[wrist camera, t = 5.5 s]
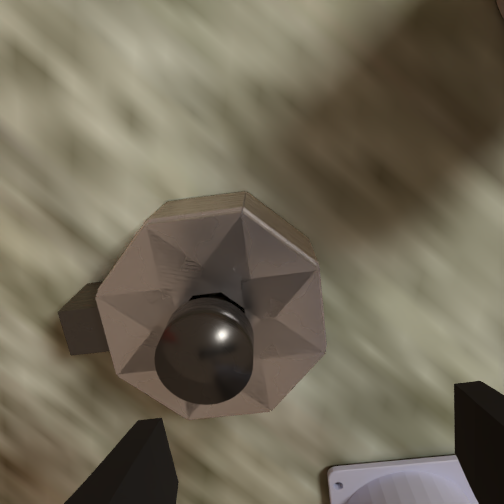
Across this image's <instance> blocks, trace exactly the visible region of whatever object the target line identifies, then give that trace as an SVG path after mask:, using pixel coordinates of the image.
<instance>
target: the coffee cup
mask: <svg viewBox="0 0 504 504" xmlns="http://www.w3.org/2000/svg"><path fill="white" fill-rule="evenodd" d="M496 1H497V5H498V8H499V10H500V13H501V15H502V17H503V19H504V0H496Z"/></svg>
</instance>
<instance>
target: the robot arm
mask: <svg viewBox="0 0 504 504" xmlns="http://www.w3.org/2000/svg"><path fill="white" fill-rule="evenodd" d="M454 411H455V454H456V455H451V456H440V457H429V458H419V459H408V460H397V461H386V462H375V463H365V464H354V465H343V466H334V467H332V468H330V469H329V470H328V472H327V478H328V487H329V497H330V504H504V395H503V394H501V393H499V392H498V391H496V390H495V389H493V388H491V387H490V386H488V385H486V384H485V383H483V382H481V381H475V382H466V383H458V384H454ZM337 482H340V483H338V484H335V483H337ZM177 489H178V479H177V475H176V471H175V467H174V463H173V459H172V455H171V452H170V448H169V444H168V440H167V436H166V432H165V429H164V425H163V421H162V418H155V419H147V420H138V421H137V422H136V424H135V425H134V426H133V427H132V428H131V429H130V430H129V431H128V432H127V434H126V435H125V436H124V437H123V438H122V439H121V441H120V442H119V443H118V444H117V445H116V446H115V448H114V449H113V450H112V451H111V452H110V453H109V455H108V456H107V457H106V458H105V459H104V460H103V461H102V463H101V464H100V465H99V466H98V467H97V468H96V469H95V470H94V472H93V473H92V474H91V475H90V476H89V477H88V478H87V479H86V481H85V482H84V483H83V484H82V485H81V486H80V487H79V488H78V489H77V490H76V491H75V493H74V494H73V495H72V496H71V497H70V498H69V499H68V500H67V501H66V502H65V503H64V504H176V498H177Z"/></svg>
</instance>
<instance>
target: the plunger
mask: <svg viewBox="0 0 504 504" xmlns="http://www.w3.org/2000/svg"><path fill="white" fill-rule="evenodd" d="M228 301H229V297H227V296H226V295H224V294H223V293H221V292H219V293H211V294H209V296H208V298H198V299H194V300H191V301H189V302H186V303H185V304H183V305H181V306H180V307H179V308H178V309H176V310H175V312H174V313H173V314H172V315H171V317H170V318H169V321H168V323H167V325H166V327H165V329H164V332H163V334H162V336H161V338H160V340H159V343H158V345H157V347H156V351H155V357H154V361H155V369H156V372H157V375H158V377H159V379H160V381H161V382H162V384H163V385H164V386H165V387H166V388H167V389H168V390H169V391H170V392H171V393H172V394H174V395H175V396H177V397H178V398H180V399H182V400H185V401H187V402H190V403H194V404H201V405H212V404H218V403H222V402H225V401H227V400H230V399H231V398H233V397H235V396H236V395H237V394H239V393H240V392H241V391H242V390H243V389H244V388H245V386H246V385H247V383H248V382H249V380H250V377H251V375H252V371H253V354H254V333H253V329H252V326H251V323H250V322H249V320H248V318H247V317H246V315H245V314H244V313H243V312H242V311H241V310H240V309H239V308H237V307H236V306H235V305H233V304H231V303H229V302H228Z"/></svg>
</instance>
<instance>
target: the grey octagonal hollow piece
mask: <svg viewBox="0 0 504 504" xmlns="http://www.w3.org/2000/svg"><path fill="white" fill-rule="evenodd" d="M219 292H221V293H223V294H224V295H226V296H227V297H229V298H230V299H231V300H233V301H234V302H236V303H237V304H239V305H240V306H241V307H243V308H244V311H245V315H246V317H247V318H248V320H249V322H250V323H251V326H252V329H253V333H254V354H253V371H252V375H251V377H250V380H249V382H248V383H247V385H246V386H245V388H244V389H243V390H242V391H241V392H240V393H239V394H237V395H236V396H235V397H233V398H231V399H230V400H227V401H225V402H222V403H218V404H212V405H201V404H194V403H190V402H187V401H185V400H182V399H180V398H178V397H177V396H175V395H174V394H172V393H171V392H170V391H169V390H168V389H167V388H166V387H165V386H164V385H163V384H162V382H161V381H160V379H159V377H158V375H157V372H156V369H155V361H154V357H155V351H156V347H157V345H158V343H159V340H160V338H161V336H162V334H163V332H164V329H165V327H166V325H167V323H168V321H169V318H170V317H171V315H172V314H173V313H174V312H175V310H176V309H178V308H179V307H180V306H181V305H183V304H185V303H186V302H188V301H189V300H190V298H191V297H192V296H194V295H202V294H211V293H219ZM58 315H59V318H60V321H61V325H62V328H63V331H64V334H65V338H66V341H67V344H68V348H69V351H70V354H71V355H79V354H88V353H97V352H106V351H110V354H111V357H112V361H113V365H114V368H115V372H116V375H118V377H120V378H121V379H123V380H124V381H126V382H128V383H129V384H131V385H132V386H134V387H136V388H137V389H139V390H140V391H142V392H144V393H145V394H147V395H148V396H150V397H152V398H153V399H155V400H156V401H158V402H160V403H161V404H163V405H164V406H166V407H168V408H169V409H171V410H173V411H174V412H176V413H177V414H179V415H181V416H182V417H184V418H185V419H189V420H193V419H202V418H212V417H222V416H232V415H242V414H252V413H262V412H270V410H271V411H272V410H273V409H274V408H275V407H276V406H277V405H278V404H279V403H280V401H281V400H282V399H283V398H284V397H285V396H286V395H287V394H288V393H289V392H290V391H291V390H292V389H293V388H294V386H295V385H296V384H297V383H298V382H299V381H300V380H301V379H302V378H303V377H304V376H305V375H306V374H307V373H308V372H309V370H310V369H311V368H312V367H313V366H314V365H315V364H316V363H317V362H318V361H319V360H320V359H321V358H322V357H323V356H324V354H325V352H326V346H327V343H326V332H325V322H324V311H323V300H322V289H321V279H320V268H319V263H318V260H317V258H316V255H315V253H314V250H313V248H312V245H311V243H310V240H309V238H308V237H306V236H305V235H304V234H302V233H301V232H300V231H298V230H297V229H296V228H294V227H293V226H292V225H291V224H289V223H288V222H287V221H285V220H284V219H283V218H281V217H280V216H279V215H277V214H276V213H275V212H273V211H272V210H271V209H269V208H268V207H267V206H265V205H264V204H263V203H262V202H260V201H259V200H258V199H256V198H255V197H254V196H252V195H251V194H250V193H248V192H246V191H241V192H234V193H226V194H219V195H211V196H204V197H196V198H189V199H181V200H174V201H167V202H166V203H165V204H163V205H162V206H161V207H160V208H159V209H158V210H157V211H156V212H155V213H153V214H152V215H151V216H150V217H149V218H148V219H147V220H146V221H145V223H144V224H143V225H142V227H141V228H140V230H139V231H138V233H137V234H136V235H135V237H134V238H133V240H132V241H131V243H130V244H129V246H128V247H127V248H126V250H125V251H124V253H123V254H122V256H121V257H120V258H119V260H118V261H117V263H116V264H115V266H114V267H113V268H112V270H111V271H110V273H109V274H108V276H107V277H106V278H105V280H104V281H103V282H96V283H88V284H86V285H85V286H84V287H83V288H82V289H81V290H80V291H79V292H78V293H77V294H76V295H75V296H74V297H73V298H72V299H71V300H70V301H69V302H67V303H66V304H65V305H64V306H63V307H62V308H61V309H60V310H59V311H58Z"/></svg>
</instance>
